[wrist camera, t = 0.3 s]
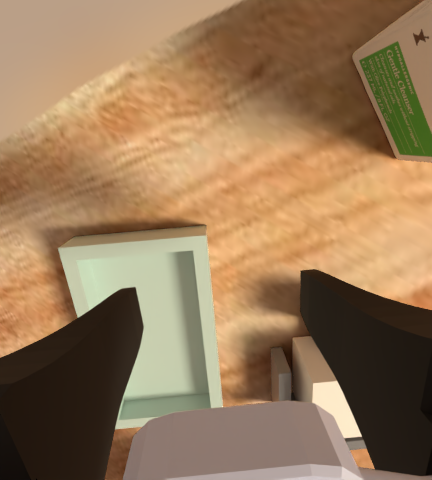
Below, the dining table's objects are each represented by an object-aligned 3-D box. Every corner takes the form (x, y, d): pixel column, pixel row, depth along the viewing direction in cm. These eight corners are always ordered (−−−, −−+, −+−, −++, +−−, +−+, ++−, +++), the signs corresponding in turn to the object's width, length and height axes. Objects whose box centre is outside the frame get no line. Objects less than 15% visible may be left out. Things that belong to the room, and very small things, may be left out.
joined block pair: (338, 384, 27) (366, 436, 22) (291, 388, 27) (310, 441, 22) (346, 283, 23) (383, 319, 18) (293, 288, 23) (316, 325, 18)
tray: (222, 394, 27) (223, 419, 24) (118, 404, 27) (109, 429, 24) (206, 225, 21) (206, 235, 19) (74, 236, 21) (57, 248, 19)
